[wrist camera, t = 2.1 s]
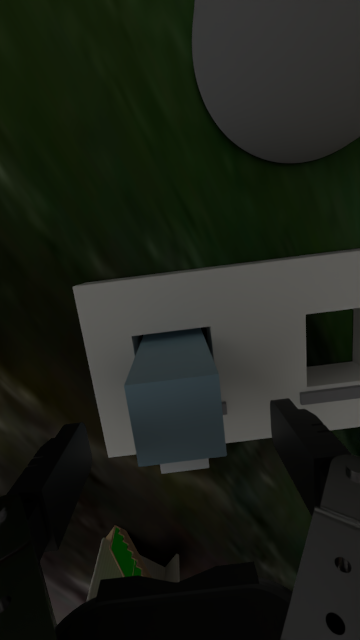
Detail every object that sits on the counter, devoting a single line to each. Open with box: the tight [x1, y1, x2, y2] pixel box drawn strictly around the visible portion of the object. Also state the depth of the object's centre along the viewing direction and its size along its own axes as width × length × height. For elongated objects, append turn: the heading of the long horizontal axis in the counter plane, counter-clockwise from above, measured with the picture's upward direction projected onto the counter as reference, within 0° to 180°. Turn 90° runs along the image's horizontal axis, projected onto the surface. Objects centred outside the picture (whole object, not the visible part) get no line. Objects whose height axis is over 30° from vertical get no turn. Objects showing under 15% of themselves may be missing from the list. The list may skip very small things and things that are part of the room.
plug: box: [124, 328, 227, 474], centre depth 16 cm, size 5×4×9 cm
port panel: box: [73, 248, 360, 458], centre depth 19 cm, size 12×22×3 cm, turn 97°
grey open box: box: [86, 525, 180, 602], centre depth 21 cm, size 4×7×8 cm, turn 56°
